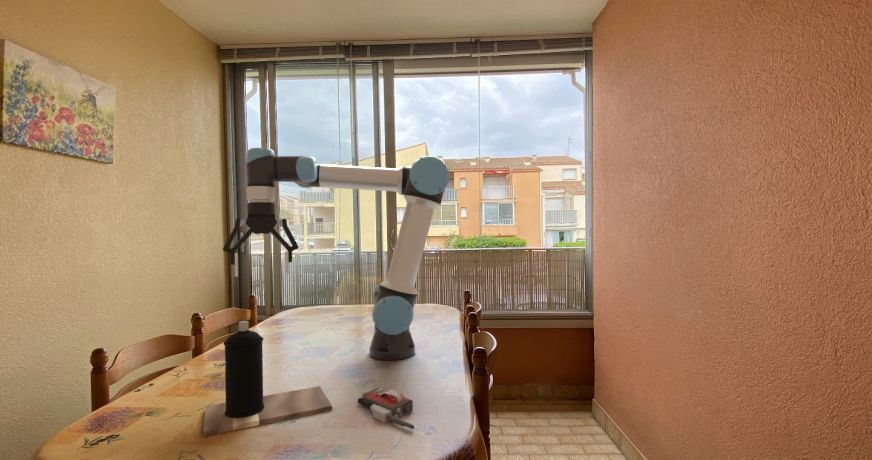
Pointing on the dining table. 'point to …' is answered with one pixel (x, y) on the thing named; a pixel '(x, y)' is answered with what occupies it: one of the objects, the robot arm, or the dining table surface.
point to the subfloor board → (268, 410)
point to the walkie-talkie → (387, 405)
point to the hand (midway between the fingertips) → (262, 275)
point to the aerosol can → (243, 373)
